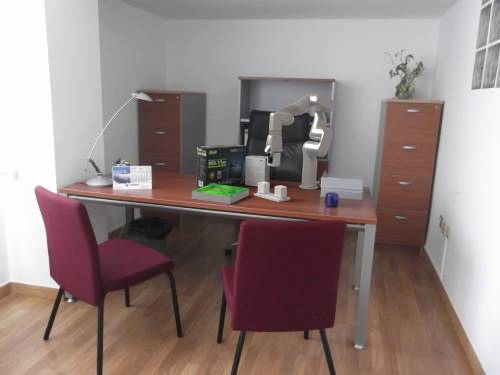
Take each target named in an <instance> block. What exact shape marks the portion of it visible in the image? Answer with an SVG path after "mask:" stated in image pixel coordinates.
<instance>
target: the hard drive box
mask: <svg viewBox="0 0 500 375" xmlns="http://www.w3.org/2000/svg"><path fill="white" fill-rule="evenodd" d="M267 158H268V156H264V155H263V156H262V155H246V156H245V183H244V185H245V186H251V187H258V182H268V183H270V167H271V166H269V165H267Z"/></svg>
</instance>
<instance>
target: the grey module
mask: <svg viewBox="0 0 500 375" xmlns="http://www.w3.org/2000/svg"><path fill="white" fill-rule="evenodd" d="M270 154H271V153H270ZM280 154H281V155H282V153H277V152H273V154H272V164H270V163H268V158H267V165H269V166H270V167H280V166H281V155H280Z"/></svg>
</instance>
